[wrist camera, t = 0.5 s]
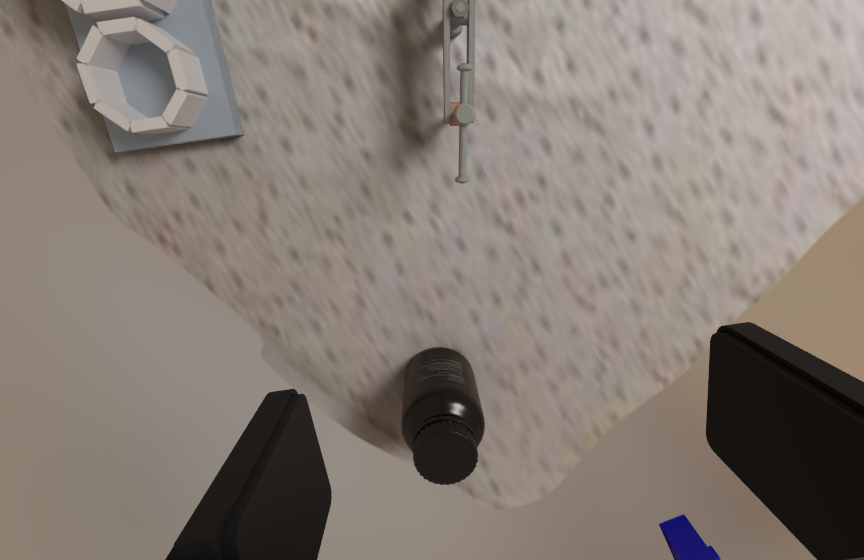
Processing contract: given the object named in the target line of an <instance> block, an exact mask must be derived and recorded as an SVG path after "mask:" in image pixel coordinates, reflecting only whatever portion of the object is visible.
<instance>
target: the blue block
mask: <svg viewBox="0 0 864 560" xmlns="http://www.w3.org/2000/svg"><path fill="white" fill-rule="evenodd" d="M659 526H660V528H661V530H662V532H663V535H664V537H665V539H666V542H667V544H668V546H669V548H670V550H671V553H672V555H673V557H674V560H720V557H719V556H718V554H717V553H716V552H715V550H714V549H713V548H712V546H708V547H707V546H706V544H705V543H704V542H703V540H702V539H701V538H700V536H699V535H698V533H697V532H696V530H695V529H694V528H693V526H692V525H691V523H690V522H689V521H688V519H687V518H686V516H685V515H684V514H683V515H680V516H678V517H675V518H673V519H670V520H667V521H665V522H662V523H660V524H659Z"/></svg>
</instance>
